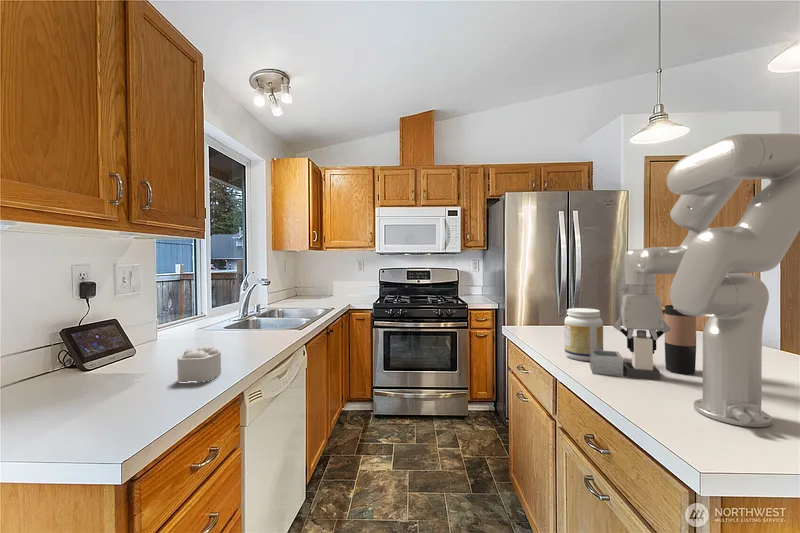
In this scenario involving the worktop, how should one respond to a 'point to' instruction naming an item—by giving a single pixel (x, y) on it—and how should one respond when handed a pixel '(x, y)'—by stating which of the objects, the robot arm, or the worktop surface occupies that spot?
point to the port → (606, 362)
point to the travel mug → (680, 342)
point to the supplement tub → (583, 333)
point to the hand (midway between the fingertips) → (641, 351)
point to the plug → (642, 351)
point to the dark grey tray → (640, 372)
